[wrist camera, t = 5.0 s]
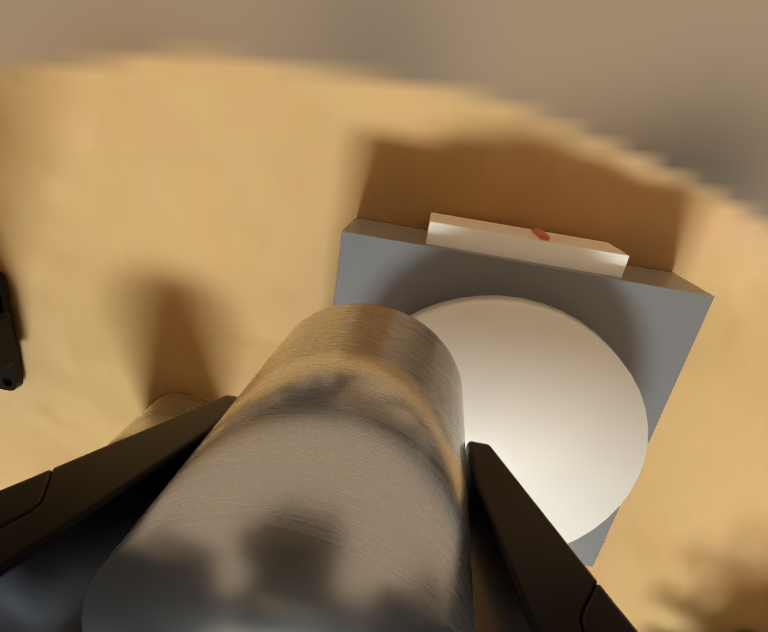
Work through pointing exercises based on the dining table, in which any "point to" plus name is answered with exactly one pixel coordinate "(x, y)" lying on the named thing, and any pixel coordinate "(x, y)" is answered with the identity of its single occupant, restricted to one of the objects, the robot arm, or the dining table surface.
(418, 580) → the cylinder
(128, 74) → the dining table surface
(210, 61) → the dining table surface
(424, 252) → the base
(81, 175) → the dining table surface
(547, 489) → the pan
